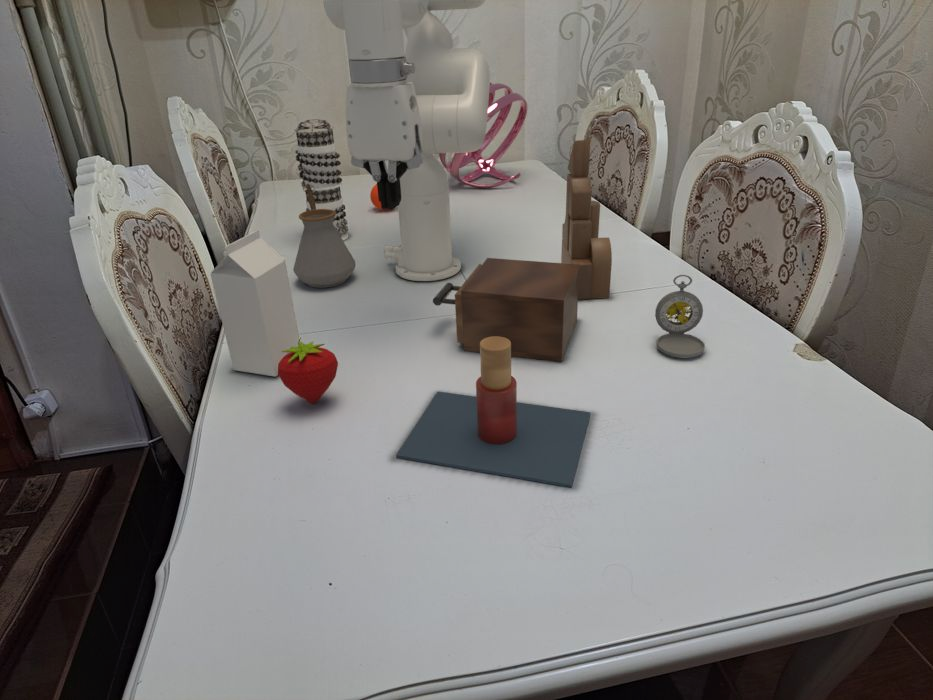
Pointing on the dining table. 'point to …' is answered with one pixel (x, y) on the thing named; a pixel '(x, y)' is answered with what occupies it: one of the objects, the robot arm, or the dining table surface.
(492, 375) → the red cylinder
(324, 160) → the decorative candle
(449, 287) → the drawer
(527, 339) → the cabinet
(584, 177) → the wooden toy
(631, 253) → the dining table surface
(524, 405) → the mat
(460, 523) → the dining table surface
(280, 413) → the dining table surface
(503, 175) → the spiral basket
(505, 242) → the dining table surface
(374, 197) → the clementine
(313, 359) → the strawberry
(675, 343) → the pocket watch
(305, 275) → the coffee pot
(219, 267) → the milk carton
